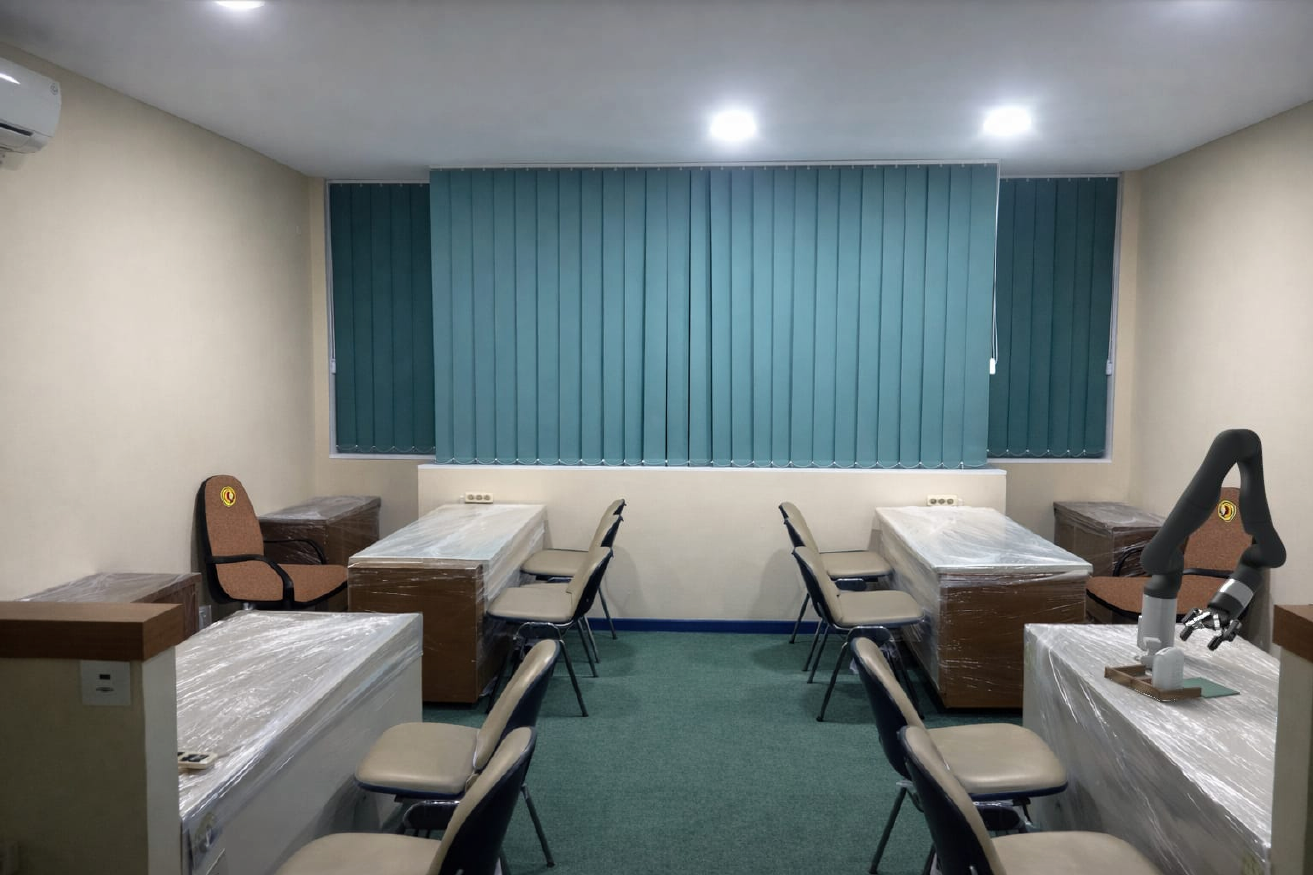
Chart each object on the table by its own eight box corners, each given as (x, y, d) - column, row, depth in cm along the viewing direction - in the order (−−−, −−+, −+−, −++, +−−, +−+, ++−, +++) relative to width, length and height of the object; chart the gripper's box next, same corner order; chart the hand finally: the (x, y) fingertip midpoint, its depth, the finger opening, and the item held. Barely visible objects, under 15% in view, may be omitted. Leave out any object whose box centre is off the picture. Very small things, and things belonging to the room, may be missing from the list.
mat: (1167, 682, 248) (1167, 680, 248) (1200, 678, 252) (1200, 676, 252) (1205, 698, 237) (1205, 696, 237) (1239, 693, 240) (1239, 692, 240)
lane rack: (1104, 676, 251) (1105, 666, 251) (1142, 672, 255) (1143, 662, 255) (1160, 702, 233) (1161, 690, 233) (1201, 696, 237) (1201, 686, 237)
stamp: (1134, 668, 258) (1136, 640, 258) (1131, 661, 265) (1133, 633, 264) (1170, 673, 255) (1172, 644, 255) (1165, 665, 262) (1167, 637, 261)
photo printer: (1167, 686, 245) (1171, 642, 244) (1184, 691, 241) (1187, 647, 240) (1148, 693, 239) (1151, 648, 238) (1164, 699, 236) (1167, 653, 234)
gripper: (1200, 584, 250) (1166, 627, 247) (1248, 597, 236) (1212, 643, 234) (1213, 601, 252) (1179, 644, 249) (1261, 615, 238) (1226, 661, 236)
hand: (1195, 643), depth 241 cm, fingers open, 8 cm apart
